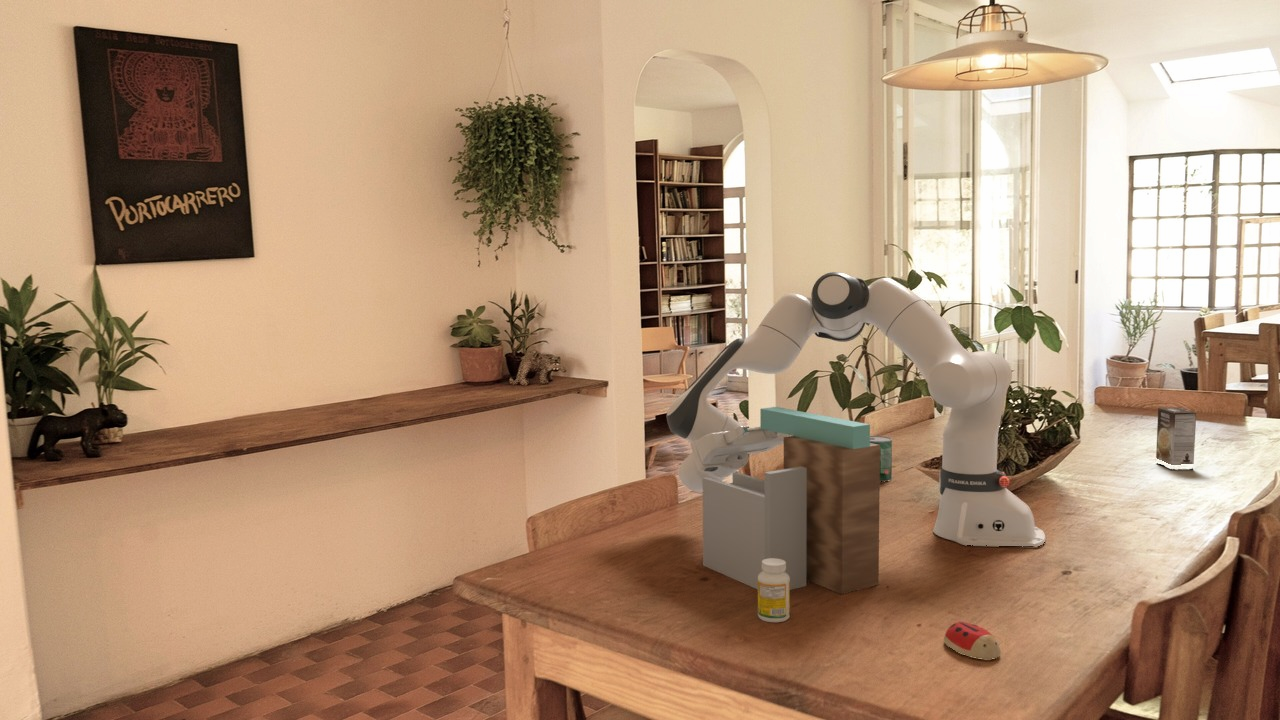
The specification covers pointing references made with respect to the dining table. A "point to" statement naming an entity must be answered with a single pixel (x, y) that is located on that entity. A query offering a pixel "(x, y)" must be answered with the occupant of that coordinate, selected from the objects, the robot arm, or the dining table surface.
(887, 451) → the canned tomato
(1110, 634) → the dining table surface
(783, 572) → the supplement bottle
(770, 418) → the teal square bar
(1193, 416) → the coffee box
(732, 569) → the grey boxy piece
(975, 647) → the ladybug figurine
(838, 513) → the stand
